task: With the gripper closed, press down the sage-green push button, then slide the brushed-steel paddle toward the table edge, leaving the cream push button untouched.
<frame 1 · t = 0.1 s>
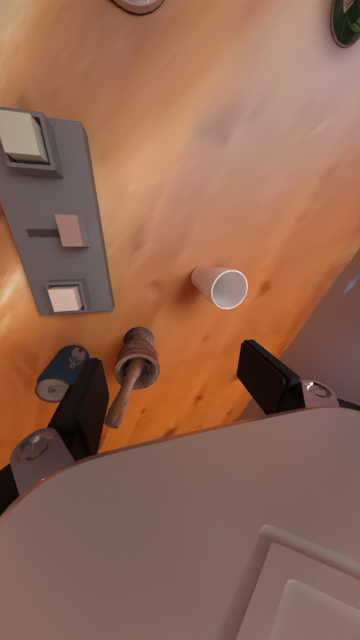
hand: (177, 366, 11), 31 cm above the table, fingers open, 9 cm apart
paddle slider: (74, 232, 28), point 5 cm above the table, slide at 0.0 cm
soda can: (76, 354, 42), on the table
mortar and pestle: (136, 344, 45), on the table
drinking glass: (200, 277, 41), on the table
button sage: (24, 140, 23), point 6 cm above the table, slide at 0.0 cm
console: (64, 234, 32), on the table
button cream: (67, 298, 31), point 6 cm above the table, slide at 0.0 cm
canned tomato: (348, 14, 29), on the table
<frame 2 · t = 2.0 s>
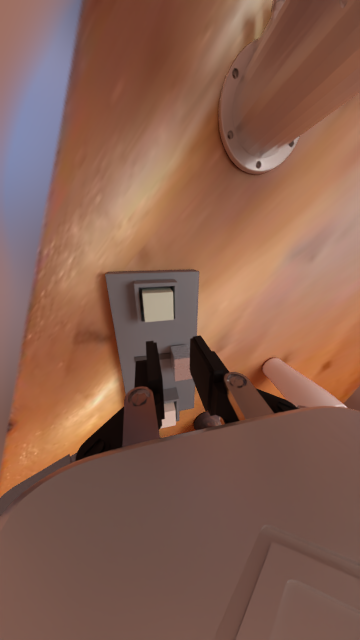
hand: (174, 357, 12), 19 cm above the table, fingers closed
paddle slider: (181, 362, 29), point 6 cm above the table, slide at 0.0 cm
mortar and pestle: (203, 424, 46), on the table
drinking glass: (270, 365, 43), on the table
button sage: (157, 304, 24), point 6 cm above the table, slide at 0.0 cm
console: (158, 347, 34), on the table
button cream: (164, 412, 33), point 6 cm above the table, slide at 0.0 cm
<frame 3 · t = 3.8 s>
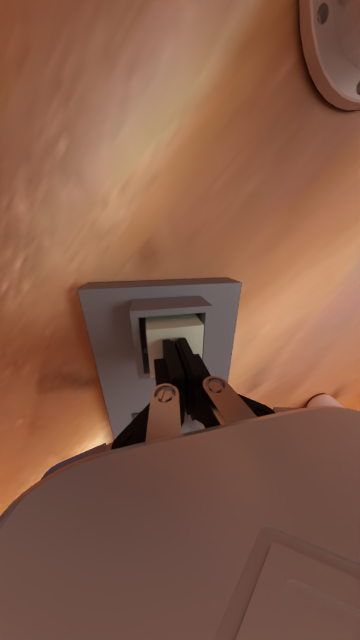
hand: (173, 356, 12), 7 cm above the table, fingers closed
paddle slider: (205, 424, 19), point 5 cm above the table, slide at 0.0 cm
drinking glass: (315, 402, 32), on the table
button sage: (172, 342, 14), point 6 cm above the table, slide at 0.4 cm, touching gripper
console: (167, 391, 23), on the table
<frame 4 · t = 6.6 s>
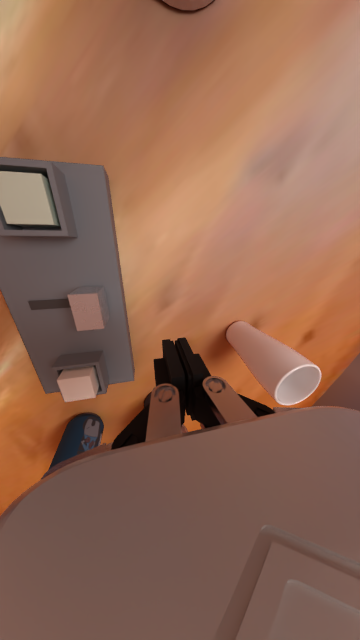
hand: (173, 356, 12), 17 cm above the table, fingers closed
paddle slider: (91, 307, 21), point 5 cm above the table, slide at 0.0 cm
soda can: (87, 421, 36), on the table
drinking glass: (236, 331, 35), on the table
button sage: (32, 203, 17), point 5 cm above the table, slide at 1.3 cm
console: (76, 297, 25), on the table
button cream: (80, 381, 24), point 6 cm above the table, slide at 0.0 cm
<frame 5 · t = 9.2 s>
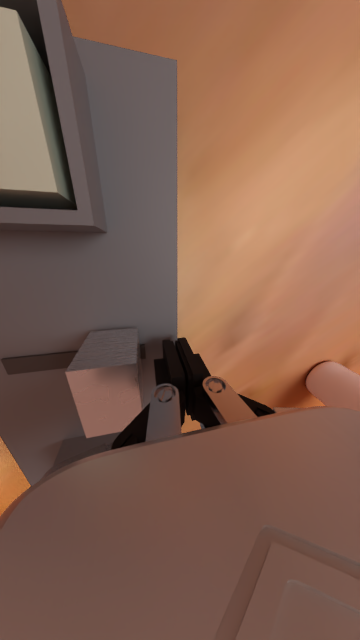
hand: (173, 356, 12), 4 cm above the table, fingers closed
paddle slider: (115, 376, 10), point 6 cm above the table, slide at 0.9 cm, touching gripper
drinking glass: (318, 374, 24), on the table
button sage: (0, 135, 6), point 5 cm above the table, slide at 1.3 cm
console: (92, 337, 15), on the table
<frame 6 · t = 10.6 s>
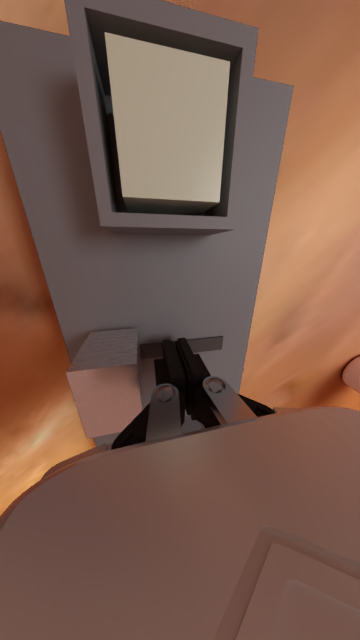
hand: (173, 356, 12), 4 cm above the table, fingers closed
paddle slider: (115, 376, 10), point 5 cm above the table, slide at 7.1 cm, touching gripper
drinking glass: (353, 367, 25), on the table
button sage: (167, 154, 7), point 5 cm above the table, slide at 1.3 cm
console: (163, 331, 16), on the table
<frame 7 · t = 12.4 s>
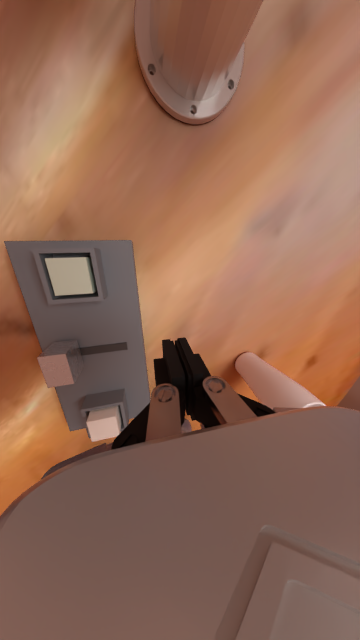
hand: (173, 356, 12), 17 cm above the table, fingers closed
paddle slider: (63, 362, 22), point 6 cm above the table, slide at 7.1 cm
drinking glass: (244, 361, 37), on the table
button sage: (74, 275, 20), point 5 cm above the table, slide at 1.3 cm
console: (100, 340, 28), on the table
button cream: (105, 420, 26), point 6 cm above the table, slide at 0.0 cm
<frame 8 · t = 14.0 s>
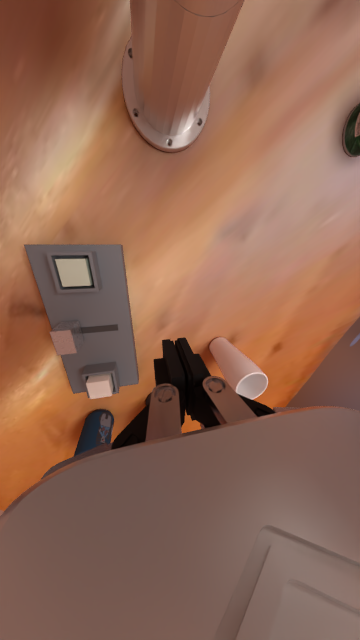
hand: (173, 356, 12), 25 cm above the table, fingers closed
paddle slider: (68, 337, 30), point 6 cm above the table, slide at 7.1 cm
soda can: (101, 416, 45), on the table
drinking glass: (217, 344, 44), on the table
button sage: (77, 271, 27), point 5 cm above the table, slide at 1.3 cm
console: (97, 323, 35), on the table
button cream: (100, 384, 34), point 6 cm above the table, slide at 0.0 cm
canned tomato: (358, 131, 32), on the table
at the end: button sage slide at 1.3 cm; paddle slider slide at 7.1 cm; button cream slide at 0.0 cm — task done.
